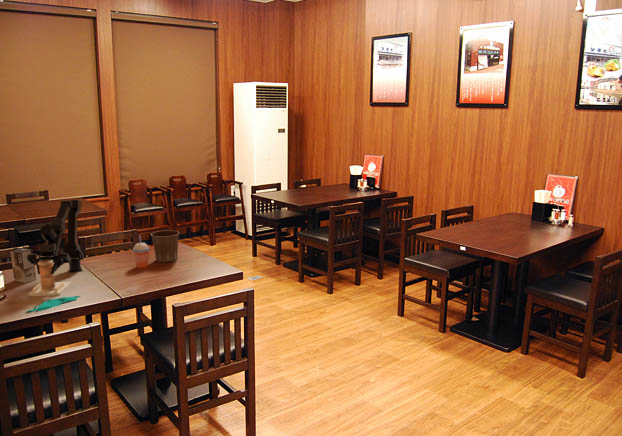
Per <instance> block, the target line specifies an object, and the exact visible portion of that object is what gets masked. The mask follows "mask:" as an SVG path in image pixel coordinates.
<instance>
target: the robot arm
mask: <svg viewBox="0 0 622 436" xmlns="http://www.w3.org/2000/svg"><path fill="white" fill-rule="evenodd" d="M82 206H83V202H82V201H81V200H80V199H78V198H77V199H74V198H73V199H70V198H69V199H66V200H61V201H60V206H59V209H58V211H57V214H56V215H55V218H54V219H53V220H51V221H50V222H49V223H45V225H43V226H41V228H40V229H39V234H40V235H41V237H42V239H44V240H45V241H46V244H39V246H38V252H39V253H40V254H41V255H39V254H37V253H33V254H29V255H28V256H27V260H28V261H29V262H30V263H31V264H34V265H35V266H36V269H37V270H36V271H37V275H39V276H40V270H39V265H38V262H39V261H42V260H53V268H52V272H51V273H52V274H54V275H55V273H56V271H57V270H59V268H60V267H61V266H63V265H65V264H68V266H69V268H68V273H75V272H82V271H83V269H82V266H81V261H82V260H84V259H85V258H84V257H85V256H84V252H82V250H81V246H80V244H79V243H78V216H79V214H80V213H81V212H82ZM66 221H67V227H66V225H65V224H66ZM66 230H67V240H66V241H67V242H66V243H65V244H64V245H63V251H62V252H60V249H59V248H60V247H59V246H60V243H61V242H62V239H61V236H63V235H64V234H65V233H66ZM60 235H61V236H60Z"/></svg>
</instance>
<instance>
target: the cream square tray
mask: <svg viewBox="0 0 622 436" xmlns="http://www.w3.org/2000/svg"><path fill="white" fill-rule="evenodd" d="M72 285H73V281H57V282H56V281H55V286H56V287H55V288H54V289H55V290H53V291H48V292H43V291H41V288H42V287H41V282H40V283H38V284H36V286H34V287H33V288H32V289H31V290H32V291H30V292H29V293H28V297H44V296H45V297H47V296H48V297H50V296H61V295H62V294H63V293H64V292H65V291H66V290H68V288H69V287H71V286H72Z"/></svg>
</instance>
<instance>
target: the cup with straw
mask: <svg viewBox="0 0 622 436" xmlns="http://www.w3.org/2000/svg"><path fill="white" fill-rule="evenodd" d="M138 237H139V242H138V243H135V245H134V246H133V248H132V252H133V256H134V262H135V265H136V266H135V267H136V268H138V269H144V268H145V269H146V268H148V266H149V259H150V257H149V256H150V255H149V254H150V253H149V252H150V247H149V245H148V244H146V242H142V235H139V236H138Z"/></svg>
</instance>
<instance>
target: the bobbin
mask: <svg viewBox="0 0 622 436" xmlns="http://www.w3.org/2000/svg"><path fill="white" fill-rule="evenodd" d="M38 265H39V270H40V275H39V278H40V283H41V287H42V288H41V291H43V292H48V291H53V290H55V289H54V288H55V287H56V286H55V282H56V281H55V273H54V274H52V273H51V272H52V268H53V265H54V260H42V261H39V262H38Z"/></svg>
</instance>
